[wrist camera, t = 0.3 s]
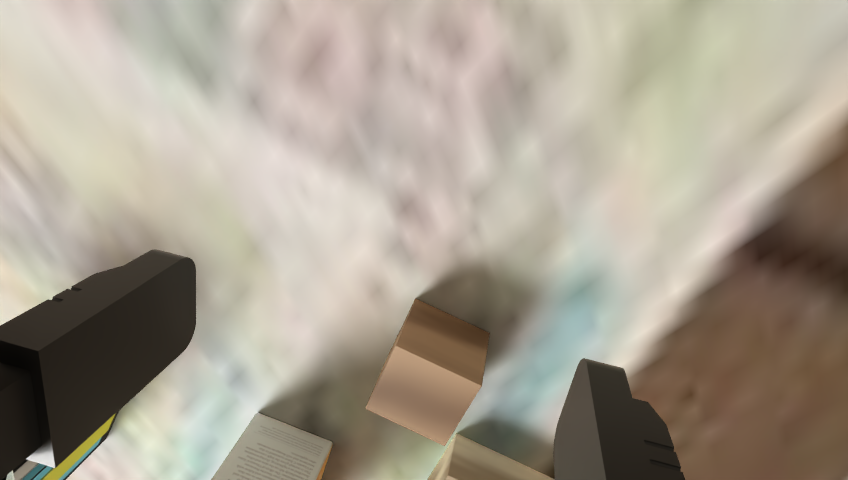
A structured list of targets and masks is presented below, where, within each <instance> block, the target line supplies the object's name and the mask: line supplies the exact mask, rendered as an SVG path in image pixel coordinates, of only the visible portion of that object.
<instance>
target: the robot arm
mask: <svg viewBox="0 0 848 480" xmlns="http://www.w3.org/2000/svg"><path fill="white" fill-rule="evenodd" d="M195 325H196V268H195V264H194V262H193V260H192V259H190V258H188V257H184V256H180V255H176V254H172V253H168V252H164V251H160V250H151V251H149V252H147V253H145V254H143V255H142V256H140V257H138V258H136V259H135V260H133V261H131V262H129V263H128V264H126V265H124V266H121V267H117V268H114V269H110V270H107V271H103V272H100V273H96V274H94V275H92V276H90V277H88V278H86V279H85V280H83V281H81V282H79V283H77V284H75V285H74V286H72V288H71V290H70V289H66V290H65V291H63V292H61V293H59V294H57V295H55V296H54V297H53V299H52V300H46V301H45V302H43V303H41V304H39V305H37V306H35V307H34V308H32V309H30V310H28V311H26V312H24V313H23V314H21V315H19V316H17V317H15V318H14V319H12V320H10V321H8V322H6V323H4V324H3V325H1V326H0V480H15V479H14V473H13V470H14V469H15V468H16V467H17V466H18V465H20V464H21V463H22V462H23V461H24V460H25V459H27V460H30V461H33V462H36V463H40V464H43V465H46V466H49V467H53V468H56V467H57V466H58V465H60V464H61V463H62V462H63V461H64V460H65V459H66V458H67V457H68V456H69V455H70V454H72V453H73V452H74V451H75V450H76V449H77V448H78V447H79V446H80V445H81V444H83V443H84V442H85V441H86V440H87V439H88V438H89V437H90V436H91V435H92V434H94V433H95V432H96V431H97V430H98V429H99V428H100V427H101V426H102V425H103V424H104V423H106V422H107V421H108V420H109V419H110V418H111V417H112V416H113V415H114V414H115V413H117V412H118V411H119V410H120V409H121V408H122V407H123V406H124V405H125V404H126V403H127V402H129V401H130V400H131V399H132V398H133V397H134V396H135V395H136V394H137V393H138V392H140V391H141V390H142V389H143V388H144V387H145V386H146V385H147V384H148V383H149V382H151V381H152V380H153V379H154V378H155V377H156V376H157V375H158V374H159V373H160V372H161V371H163V370H164V369H165V368H166V367H167V366H168V365H169V364H170V363H171V362H172V361H174V360H175V359H176V358H177V357H178V356H179V355H180V354H181V353H182V352H183V351H184V350H185V349H186V348H187V346H188V345H189V343H190V341H191V339H192V337H193V334H194V330H195ZM553 454H554V474H555V480H685V478H684V475H683V472H680V469H681V466H680V463H679V460H678V457H677V455H676V452H674V446H673V443H672V440H671V437H670V434H669V431H668V428H667V426H666V424H665V423H664V421H663V420H662V419H661V418H660V416H659V415H658V414H657V413H656V412H655V410H654V409H653V408H652V407H651V405H650V404H649V403H648V402H645V401H641V400H638V399H634V398H632V395H631V391H630V388H629V384H628V381H627V377H626V373H625V371H624V369H623V368H620V367H616V366H612V365H608V364H604V363H600V362H596V361H592V360H589V359H585V358H583V359H582V360H581V361H580V362H579V364H578V367H577V369H576V372H575V375H574V378H573V381H572V384H571V386H570V389H569V392H568V395H567V398H566V401H565V404H564V406H563V409H562V412H561V415H560V418H559V421H558V424H557V428H556V433H555V439H554V451H553Z"/></svg>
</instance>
